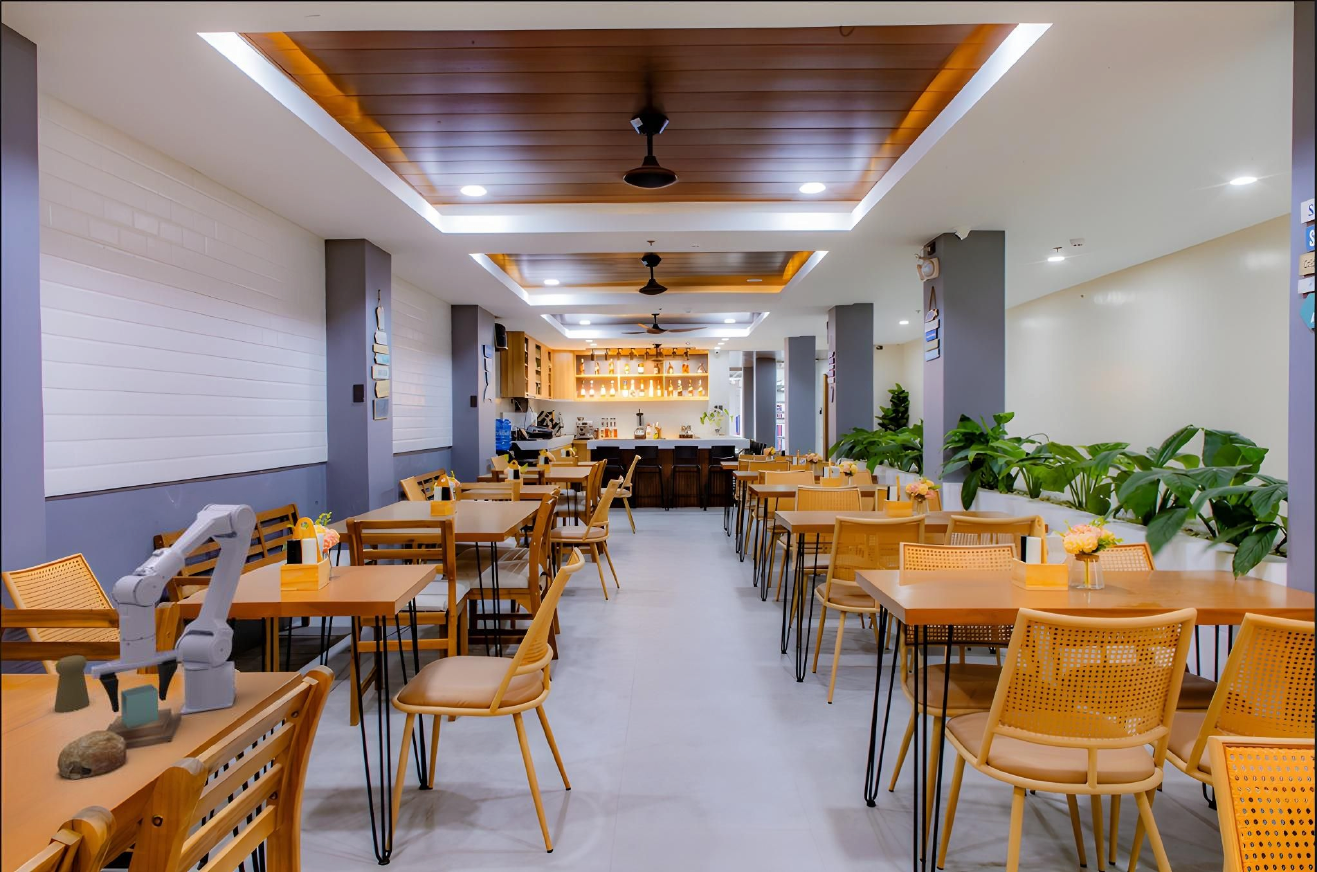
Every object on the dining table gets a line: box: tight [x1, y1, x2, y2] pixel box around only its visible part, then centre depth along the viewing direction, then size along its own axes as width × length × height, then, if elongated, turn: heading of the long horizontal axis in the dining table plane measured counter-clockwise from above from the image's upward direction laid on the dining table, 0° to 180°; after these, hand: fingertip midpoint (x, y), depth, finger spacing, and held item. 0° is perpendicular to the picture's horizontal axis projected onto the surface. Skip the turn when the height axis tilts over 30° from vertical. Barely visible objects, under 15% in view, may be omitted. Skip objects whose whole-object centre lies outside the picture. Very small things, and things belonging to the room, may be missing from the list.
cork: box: [54, 654, 91, 714], centre depth 157 cm, size 6×6×11 cm
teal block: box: [120, 683, 159, 728], centre depth 142 cm, size 5×5×6 cm
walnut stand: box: [105, 707, 182, 750], centre depth 142 cm, size 12×12×3 cm
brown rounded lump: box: [57, 730, 127, 780], centre depth 130 cm, size 10×10×8 cm
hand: (139, 704), depth 142 cm, fingers open, 7 cm apart
